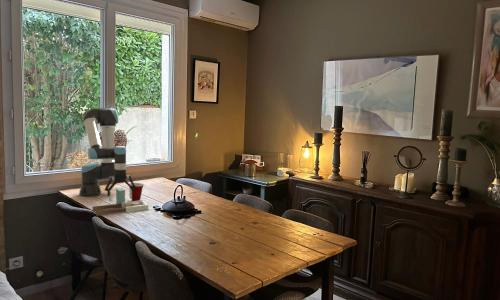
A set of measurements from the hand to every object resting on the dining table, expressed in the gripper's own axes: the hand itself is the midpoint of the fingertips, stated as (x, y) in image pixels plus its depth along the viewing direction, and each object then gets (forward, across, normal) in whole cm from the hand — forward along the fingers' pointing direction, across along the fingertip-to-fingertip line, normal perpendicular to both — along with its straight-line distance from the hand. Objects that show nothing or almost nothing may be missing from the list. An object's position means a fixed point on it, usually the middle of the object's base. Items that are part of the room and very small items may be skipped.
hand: (120, 199), depth 262 cm
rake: (+4, 0, 0) cm, 4 cm away
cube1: (+4, +2, -12) cm, 13 cm away
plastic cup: (+4, +13, +8) cm, 16 cm away
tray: (+4, +6, -12) cm, 14 cm away
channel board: (+4, -10, -12) cm, 16 cm away
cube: (+4, +6, -13) cm, 15 cm away
